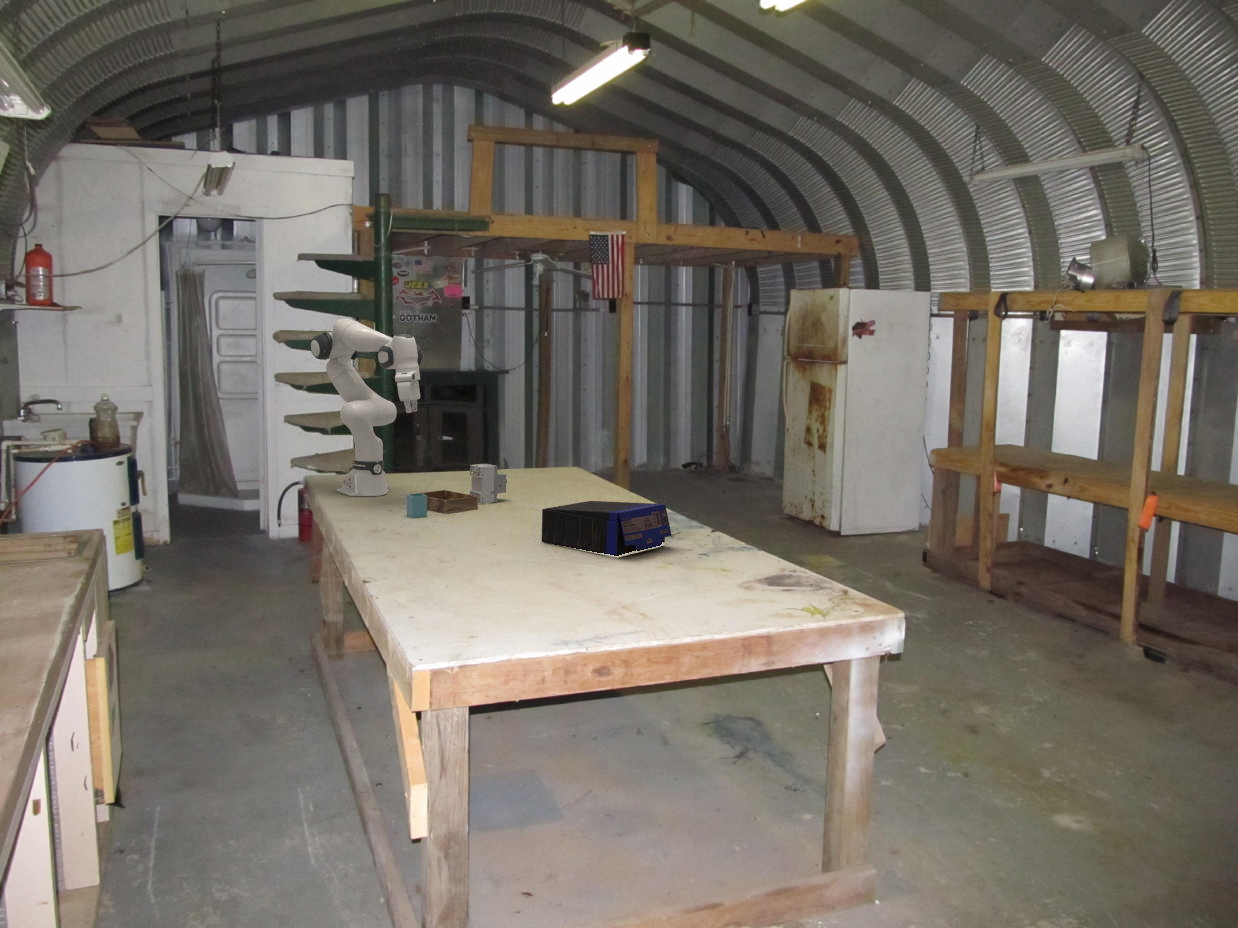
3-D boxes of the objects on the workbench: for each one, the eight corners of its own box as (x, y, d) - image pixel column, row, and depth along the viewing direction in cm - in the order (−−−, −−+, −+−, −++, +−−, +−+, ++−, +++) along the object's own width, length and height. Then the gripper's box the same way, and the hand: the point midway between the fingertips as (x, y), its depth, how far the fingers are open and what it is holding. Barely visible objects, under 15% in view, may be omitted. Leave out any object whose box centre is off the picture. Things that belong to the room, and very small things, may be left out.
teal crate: (406, 515, 344) (406, 494, 343) (421, 514, 347) (421, 493, 346) (412, 518, 339) (412, 496, 338) (426, 517, 342) (427, 495, 341)
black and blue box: (624, 560, 284) (625, 514, 282) (541, 542, 306) (542, 499, 304) (672, 548, 303) (673, 505, 301) (590, 532, 325) (591, 491, 323)
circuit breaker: (509, 501, 382) (509, 464, 380) (480, 504, 372) (480, 467, 370) (498, 498, 387) (498, 462, 385) (469, 501, 378) (470, 464, 376)
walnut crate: (412, 506, 362) (412, 493, 362) (444, 502, 375) (444, 489, 374) (445, 513, 350) (445, 500, 349) (478, 508, 362) (478, 496, 361)
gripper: (406, 376, 370) (409, 411, 371) (393, 377, 349) (397, 414, 351) (422, 375, 369) (425, 410, 371) (410, 376, 349) (414, 413, 351)
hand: (411, 412), depth 361 cm, fingers open, 8 cm apart
